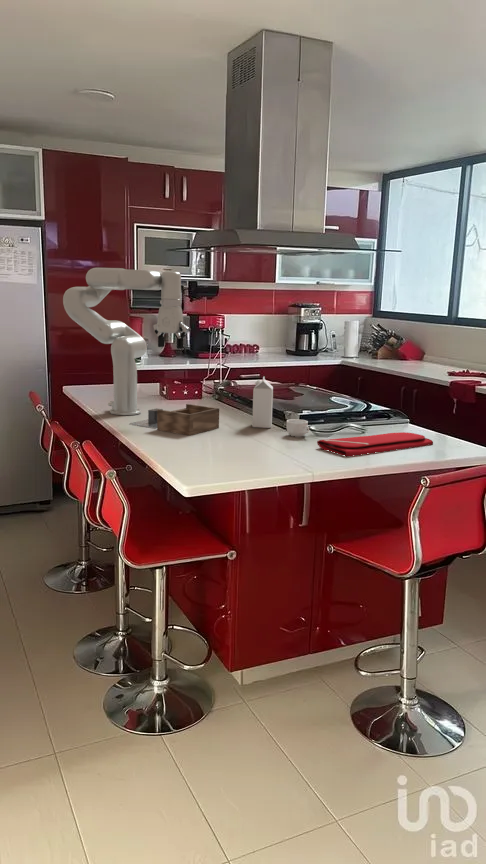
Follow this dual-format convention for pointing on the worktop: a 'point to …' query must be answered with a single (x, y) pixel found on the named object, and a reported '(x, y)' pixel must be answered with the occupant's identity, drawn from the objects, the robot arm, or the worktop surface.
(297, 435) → the teacup
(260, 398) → the milk carton
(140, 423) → the cover plate
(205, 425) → the walnut box
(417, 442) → the dish drying mat
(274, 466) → the worktop surface
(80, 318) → the robot arm
